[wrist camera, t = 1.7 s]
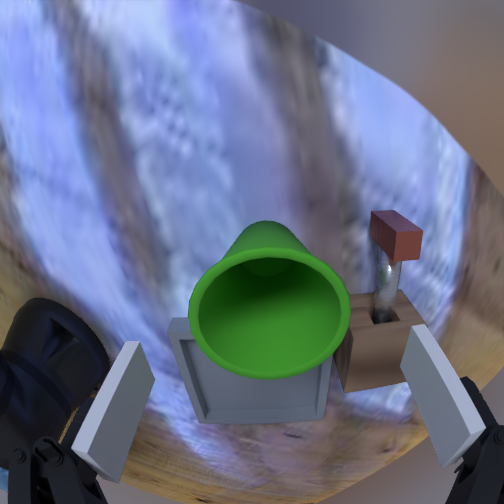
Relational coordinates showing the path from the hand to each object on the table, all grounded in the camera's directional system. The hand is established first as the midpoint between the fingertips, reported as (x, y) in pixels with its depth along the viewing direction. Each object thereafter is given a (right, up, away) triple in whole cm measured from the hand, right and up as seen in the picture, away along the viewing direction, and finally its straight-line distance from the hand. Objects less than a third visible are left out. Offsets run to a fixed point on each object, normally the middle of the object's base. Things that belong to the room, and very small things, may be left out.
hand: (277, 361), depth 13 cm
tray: (-1, -9, +19) cm, 21 cm away
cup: (0, +5, +13) cm, 14 cm away
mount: (+11, -2, +16) cm, 19 cm away
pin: (+10, +4, +12) cm, 16 cm away
